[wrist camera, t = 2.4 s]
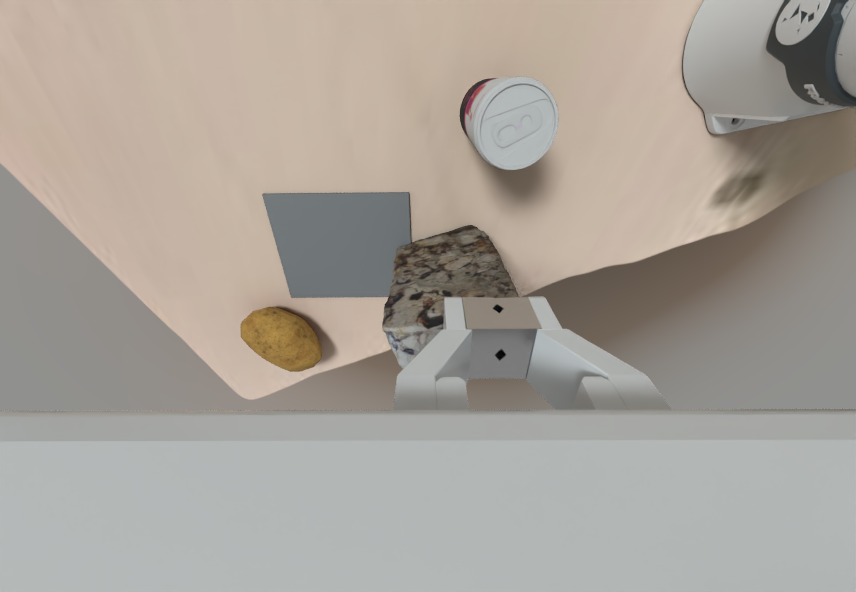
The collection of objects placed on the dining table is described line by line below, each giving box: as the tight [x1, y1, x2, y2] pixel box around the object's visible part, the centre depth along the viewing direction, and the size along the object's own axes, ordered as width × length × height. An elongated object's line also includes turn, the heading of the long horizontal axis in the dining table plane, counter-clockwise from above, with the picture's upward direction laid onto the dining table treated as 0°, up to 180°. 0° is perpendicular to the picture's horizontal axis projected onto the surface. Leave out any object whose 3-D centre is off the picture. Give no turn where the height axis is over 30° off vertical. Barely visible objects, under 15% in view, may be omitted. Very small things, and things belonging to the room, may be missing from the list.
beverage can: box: [460, 77, 559, 170], centre depth 32 cm, size 6×6×15 cm
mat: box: [262, 192, 411, 298], centre depth 47 cm, size 19×16×1 cm
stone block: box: [382, 225, 518, 369], centre depth 39 cm, size 13×7×20 cm, turn 111°
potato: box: [241, 307, 322, 372], centre depth 52 cm, size 9×13×7 cm
